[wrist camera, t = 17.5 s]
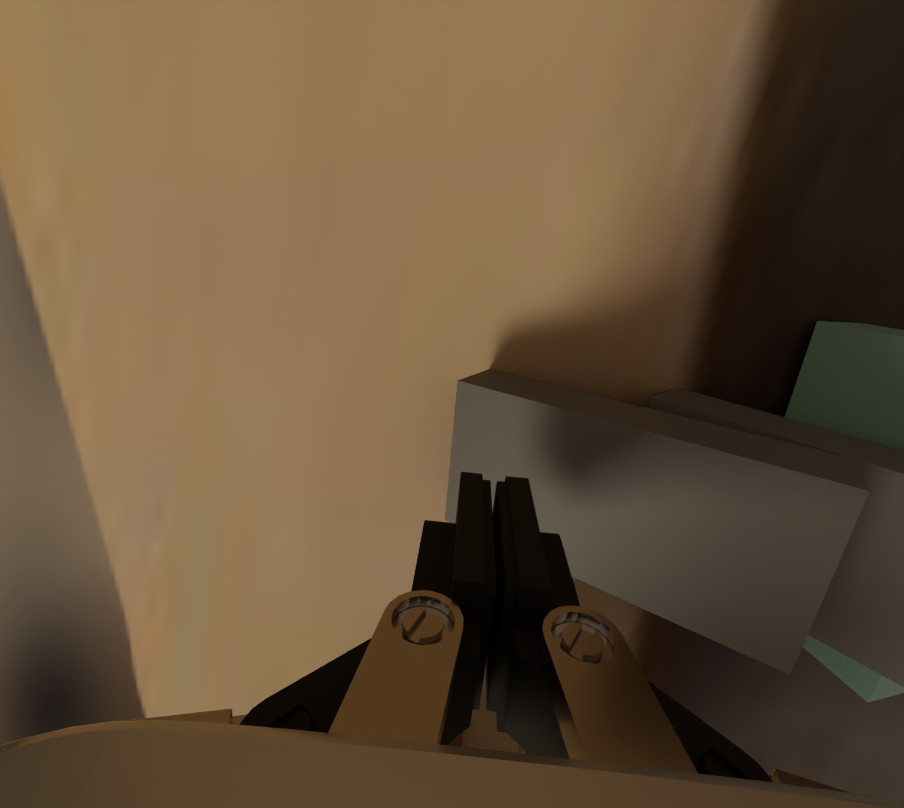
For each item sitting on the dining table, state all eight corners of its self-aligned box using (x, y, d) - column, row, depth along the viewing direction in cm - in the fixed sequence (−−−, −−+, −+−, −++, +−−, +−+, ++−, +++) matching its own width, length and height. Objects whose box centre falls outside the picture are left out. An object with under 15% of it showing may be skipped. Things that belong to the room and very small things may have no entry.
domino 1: (474, 496, 18) (788, 624, 13) (445, 519, 16) (790, 675, 11) (489, 369, 16) (856, 459, 11) (457, 380, 15) (869, 491, 10)
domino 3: (863, 323, 15) (768, 577, 18) (817, 320, 15) (728, 582, 18) (1095, 363, 11) (915, 689, 14) (1041, 363, 10) (867, 702, 13)
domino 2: (646, 514, 18) (1059, 717, 11) (618, 532, 16) (1066, 775, 9) (678, 387, 16) (1191, 531, 9) (650, 396, 15) (1222, 571, 8)
